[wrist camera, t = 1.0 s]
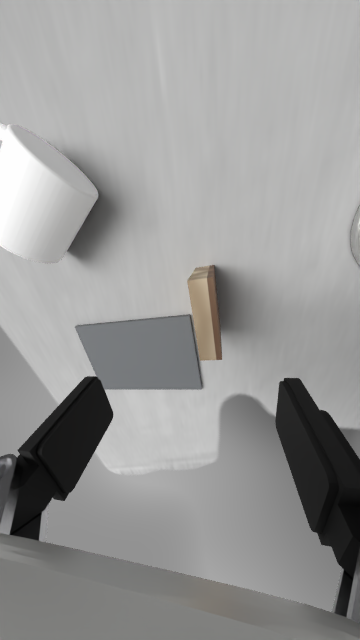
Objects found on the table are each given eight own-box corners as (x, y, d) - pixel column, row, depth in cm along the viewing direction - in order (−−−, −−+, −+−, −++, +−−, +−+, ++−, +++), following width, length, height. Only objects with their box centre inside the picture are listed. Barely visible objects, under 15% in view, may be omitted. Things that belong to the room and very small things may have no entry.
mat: (189, 314, 27) (189, 316, 26) (202, 386, 32) (201, 389, 32) (77, 325, 31) (74, 327, 31) (104, 387, 37) (102, 389, 36)
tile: (214, 265, 23) (213, 277, 16) (220, 327, 27) (222, 359, 20) (195, 267, 24) (187, 280, 17) (204, 328, 27) (200, 360, 20)
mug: (111, 202, 23) (63, 185, 15) (75, 260, 27) (23, 268, 19) (30, 116, 20) (-70, 50, 13) (4, 194, 24) (-83, 176, 17)
